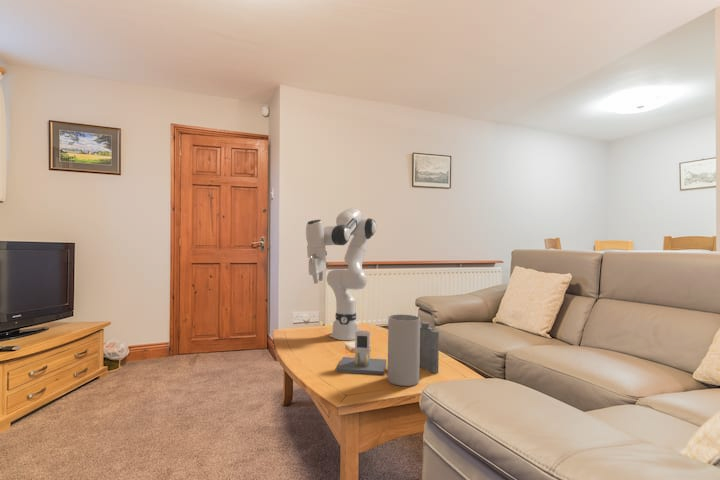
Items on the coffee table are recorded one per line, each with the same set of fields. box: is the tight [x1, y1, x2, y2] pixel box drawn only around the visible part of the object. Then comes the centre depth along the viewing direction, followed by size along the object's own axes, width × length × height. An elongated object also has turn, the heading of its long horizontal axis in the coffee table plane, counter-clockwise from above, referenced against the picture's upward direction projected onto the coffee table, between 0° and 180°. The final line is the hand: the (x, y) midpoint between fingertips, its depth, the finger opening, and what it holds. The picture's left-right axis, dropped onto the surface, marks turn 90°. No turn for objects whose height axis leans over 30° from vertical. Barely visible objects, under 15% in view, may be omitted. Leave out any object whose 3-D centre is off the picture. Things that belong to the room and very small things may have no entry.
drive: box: [354, 329, 371, 365], centre depth 159 cm, size 4×6×14 cm, turn 82°
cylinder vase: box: [387, 314, 421, 387], centre depth 143 cm, size 12×12×25 cm
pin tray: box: [335, 355, 387, 376], centre depth 158 cm, size 16×20×6 cm
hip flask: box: [419, 321, 440, 375], centre depth 159 cm, size 16×4×20 cm, turn 36°
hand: (318, 281), depth 175 cm, fingers open, 8 cm apart
